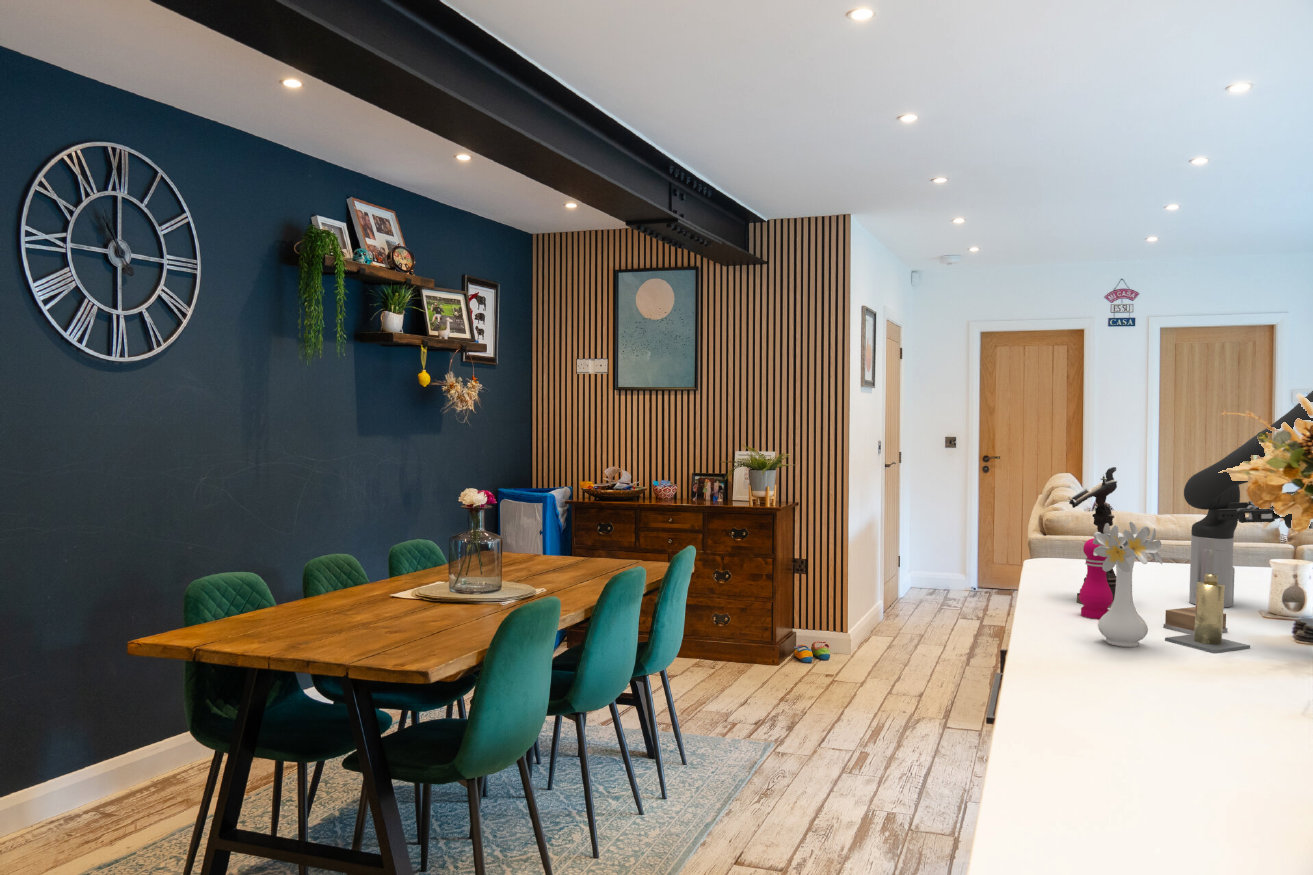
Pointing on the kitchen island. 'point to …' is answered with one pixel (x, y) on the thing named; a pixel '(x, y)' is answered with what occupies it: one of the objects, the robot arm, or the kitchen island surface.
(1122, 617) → the flower vase
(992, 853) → the kitchen island surface
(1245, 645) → the slate mat
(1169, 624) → the plane block
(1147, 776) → the kitchen island surface
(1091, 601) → the pepper mill
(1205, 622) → the gold knobbed bottle
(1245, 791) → the kitchen island surface
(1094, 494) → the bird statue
